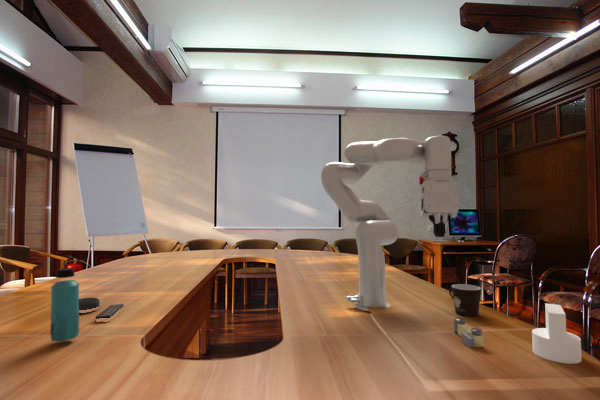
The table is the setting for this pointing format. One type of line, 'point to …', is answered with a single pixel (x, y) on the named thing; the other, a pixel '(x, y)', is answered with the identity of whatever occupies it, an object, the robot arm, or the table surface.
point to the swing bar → (468, 331)
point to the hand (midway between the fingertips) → (439, 236)
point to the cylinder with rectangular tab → (556, 338)
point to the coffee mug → (466, 299)
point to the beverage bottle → (64, 307)
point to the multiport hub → (109, 311)
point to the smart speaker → (88, 303)
